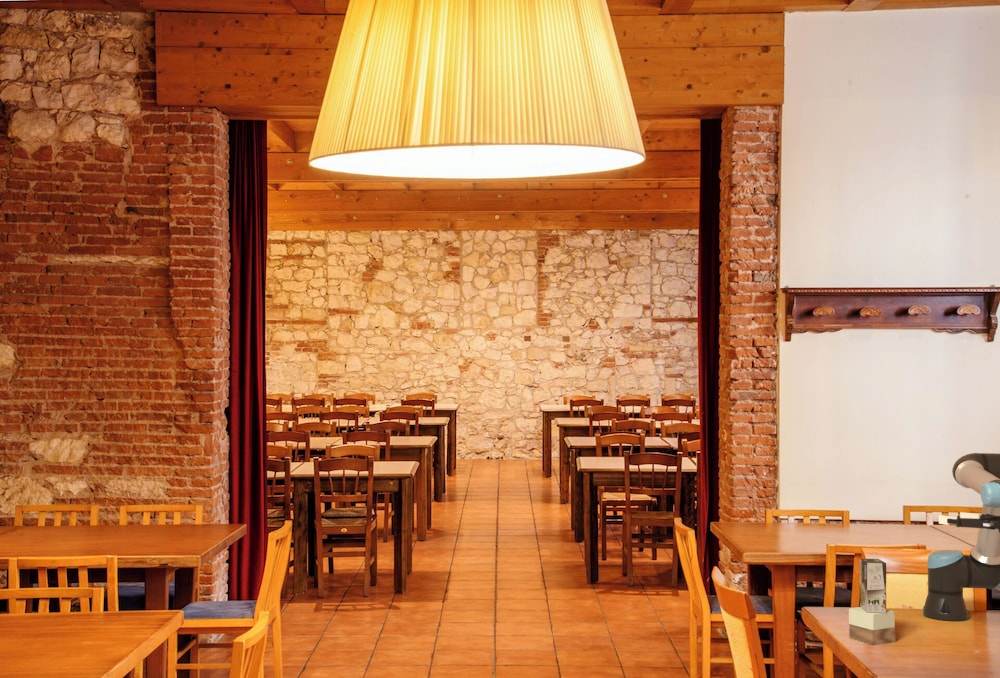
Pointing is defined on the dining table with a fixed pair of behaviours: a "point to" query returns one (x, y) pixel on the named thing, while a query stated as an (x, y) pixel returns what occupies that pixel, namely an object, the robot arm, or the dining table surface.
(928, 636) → the dining table surface
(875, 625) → the tower top
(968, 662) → the dining table surface
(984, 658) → the dining table surface
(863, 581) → the coffee box
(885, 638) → the tower base
